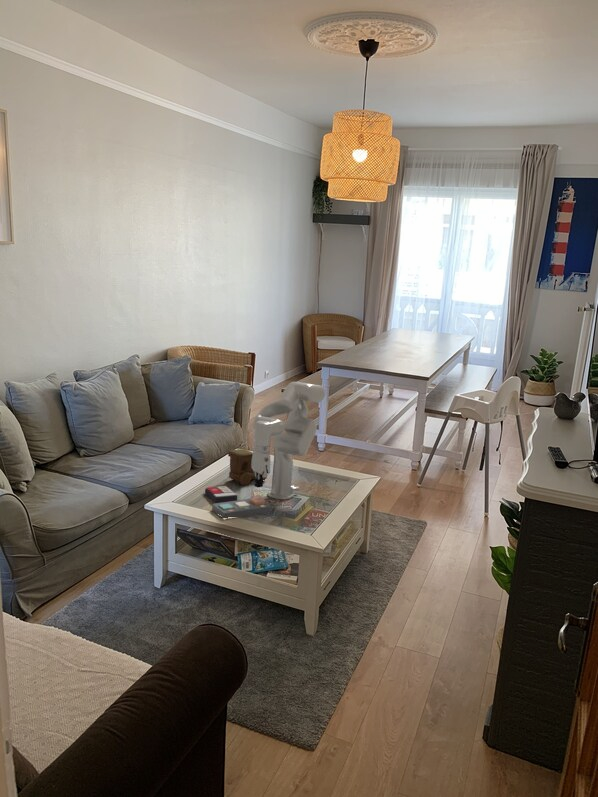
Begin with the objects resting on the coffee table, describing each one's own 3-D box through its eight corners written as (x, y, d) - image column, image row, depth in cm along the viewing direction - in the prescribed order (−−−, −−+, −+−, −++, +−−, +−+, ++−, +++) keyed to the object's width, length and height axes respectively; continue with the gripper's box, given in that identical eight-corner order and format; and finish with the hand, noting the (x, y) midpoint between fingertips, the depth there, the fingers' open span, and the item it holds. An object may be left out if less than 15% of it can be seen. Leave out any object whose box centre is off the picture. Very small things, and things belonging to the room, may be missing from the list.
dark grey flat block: (258, 503, 292) (258, 497, 291) (271, 512, 282) (271, 505, 282) (212, 510, 279) (212, 503, 278) (223, 519, 269) (224, 512, 268)
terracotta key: (259, 502, 288) (259, 497, 287) (264, 506, 284) (265, 500, 283) (250, 503, 285) (250, 498, 285) (255, 507, 281) (255, 502, 281)
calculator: (226, 485, 304) (237, 493, 291) (225, 493, 304) (237, 502, 291) (205, 486, 299) (215, 495, 286) (204, 495, 299) (215, 504, 286)
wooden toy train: (237, 487, 312) (239, 455, 309) (225, 480, 320) (227, 449, 317) (269, 481, 325) (271, 451, 322) (256, 475, 333) (258, 445, 330)
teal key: (228, 508, 279) (228, 503, 279) (233, 512, 275) (234, 507, 275) (218, 510, 277) (218, 504, 276) (223, 514, 272) (223, 508, 272)
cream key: (244, 506, 284) (244, 501, 283) (249, 510, 280) (249, 505, 279) (234, 507, 281) (234, 502, 280) (239, 511, 277) (240, 506, 276)
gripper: (277, 452, 275) (274, 491, 279) (260, 443, 288) (258, 480, 291) (262, 453, 271) (259, 493, 275) (246, 444, 283) (243, 482, 287)
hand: (258, 486), depth 283 cm, fingers closed
